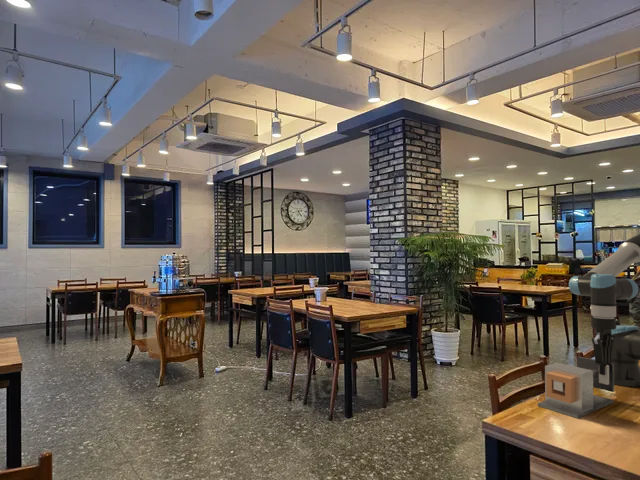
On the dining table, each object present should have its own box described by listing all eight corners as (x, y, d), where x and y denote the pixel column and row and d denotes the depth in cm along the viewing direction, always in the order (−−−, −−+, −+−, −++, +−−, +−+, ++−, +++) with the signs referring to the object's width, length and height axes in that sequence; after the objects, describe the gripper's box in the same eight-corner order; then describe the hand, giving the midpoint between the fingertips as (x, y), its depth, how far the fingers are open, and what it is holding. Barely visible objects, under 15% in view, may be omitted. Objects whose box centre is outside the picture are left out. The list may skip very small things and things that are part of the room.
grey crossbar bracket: (578, 382, 162) (578, 356, 162) (614, 391, 152) (613, 363, 153) (540, 395, 147) (540, 366, 147) (577, 406, 137) (576, 375, 137)
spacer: (551, 394, 147) (550, 371, 147) (575, 401, 141) (575, 377, 141) (546, 396, 146) (546, 373, 146) (570, 403, 139) (570, 379, 139)
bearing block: (574, 392, 161) (574, 357, 162) (613, 402, 151) (612, 364, 151) (537, 405, 147) (537, 367, 147) (577, 418, 136) (577, 376, 136)
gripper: (600, 314, 158) (600, 377, 158) (583, 317, 151) (584, 383, 151) (623, 316, 152) (623, 383, 152) (606, 320, 145) (607, 389, 144)
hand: (604, 383), depth 151 cm, fingers closed
